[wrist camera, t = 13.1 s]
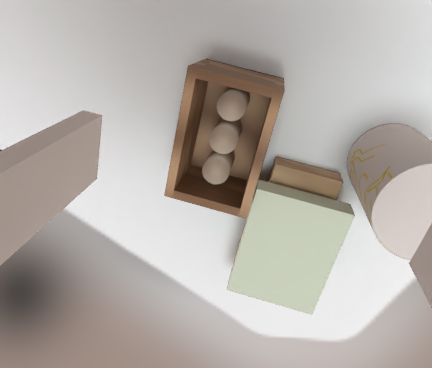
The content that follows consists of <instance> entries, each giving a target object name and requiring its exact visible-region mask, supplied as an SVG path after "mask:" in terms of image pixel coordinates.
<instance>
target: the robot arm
mask: <svg viewBox="0 0 432 368" xmlns="http://www.w3.org/2000/svg"><path fill="white" fill-rule="evenodd" d="M101 124H102V115H99V114H95V113H91V112H87V111H84V110H83V111H81V112H79V113H77V114H75V115H73V116H71V117H69V118H67V119H65V120H63V121H61V122H59V123H57V124H55V125H53V126H51V127H49V128H46V129H44V130H42V131H40V132H38V133H36V134H34V135H32V136H30V137H28V138H26V139H24V140H22V141H20V142H18V143H16V144H14V145H12V146H10V147H8V148H6V149H4V150H0V265H1V264H3V263H4V262H5V261H6V260H7V259H8V258H9V257H10V256H11V255H12V254H14V253H15V252H16V251H17V250H18V249H19V248H20V247H21V246H22V245H24V244H25V243H26V242H27V241H28V240H29V239H30V238H31V237H32V236H34V234H36V233H37V232H38V231H39V230H40V229H41V228H43V227H44V226H45V225H46V224H47V223H48V222H49V221H50V220H51V219H53V218H54V217H55V216H56V215H57V214H58V213H59V212H60V211H61V210H63V209H64V208H65V207H66V206H67V205H68V204H69V203H70V202H71V201H73V200H74V199H75V198H76V197H77V196H78V195H79V194H80V193H81V192H83V191H84V190H85V189H86V188H87V187H88V186H89V185H90V184H91V183H93V182H94V181H95V180H96V179H97V171H98V159H99V147H100V135H101ZM409 264H410V266H411V268H412V270H413V272H414V274H415V276H416V278H417V280H418V282H419V284H420V286H421V288H422V289H423V292H424V294H425V296H426V298H427V300H428V301H429V303H430V305H431V307H432V223H431V225H430V227H429V229H428V230H427V232H426V234H425V236H424V238H423V239H422V241H421V243H420V245H419V247H418V248H417V250H416V252H415V254H414V255H413V257H412V259H411V261H410V263H409Z"/></svg>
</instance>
